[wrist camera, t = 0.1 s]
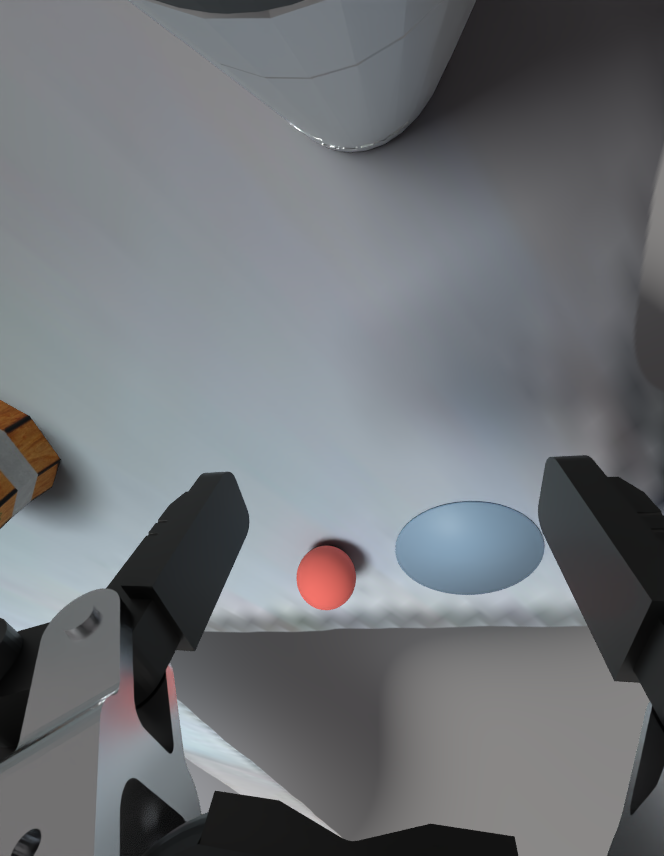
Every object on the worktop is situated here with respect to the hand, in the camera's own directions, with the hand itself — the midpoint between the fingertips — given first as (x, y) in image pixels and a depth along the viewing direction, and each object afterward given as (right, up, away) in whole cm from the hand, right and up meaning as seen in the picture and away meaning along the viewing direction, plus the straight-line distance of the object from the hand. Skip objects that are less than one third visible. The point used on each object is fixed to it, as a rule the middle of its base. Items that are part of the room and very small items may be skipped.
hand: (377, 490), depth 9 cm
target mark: (+12, -11, +26) cm, 31 cm away
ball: (-2, -13, +26) cm, 30 cm away
